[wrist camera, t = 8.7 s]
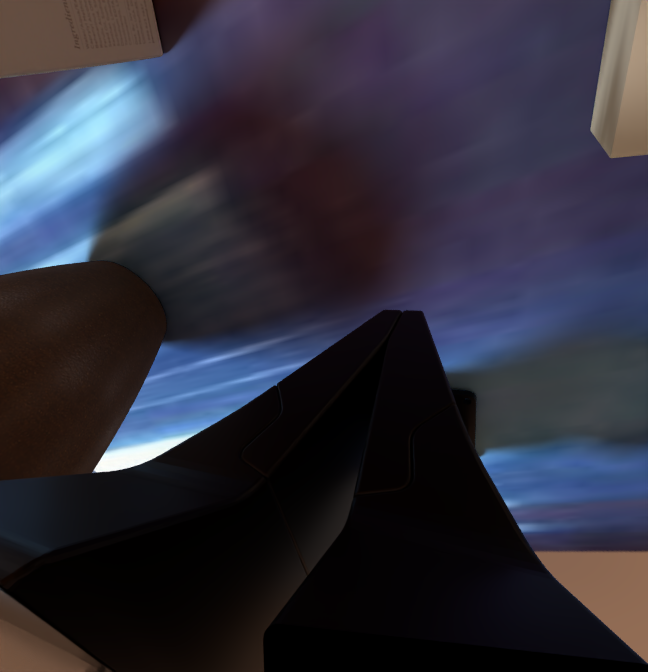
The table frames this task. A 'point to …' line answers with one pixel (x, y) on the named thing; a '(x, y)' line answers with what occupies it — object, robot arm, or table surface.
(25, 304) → the plant pot
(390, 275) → the table surface
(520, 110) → the table surface
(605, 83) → the deck
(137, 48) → the small box
